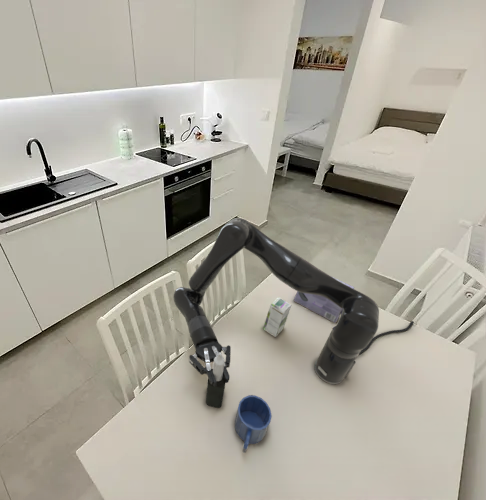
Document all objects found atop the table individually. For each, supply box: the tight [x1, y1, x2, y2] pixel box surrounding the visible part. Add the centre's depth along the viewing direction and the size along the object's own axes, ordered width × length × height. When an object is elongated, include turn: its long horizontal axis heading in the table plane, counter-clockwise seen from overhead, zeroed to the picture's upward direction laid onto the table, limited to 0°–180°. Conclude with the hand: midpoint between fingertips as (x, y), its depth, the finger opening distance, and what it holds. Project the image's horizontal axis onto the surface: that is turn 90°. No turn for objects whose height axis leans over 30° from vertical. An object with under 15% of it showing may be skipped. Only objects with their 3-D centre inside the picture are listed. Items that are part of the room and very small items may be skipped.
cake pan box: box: [293, 275, 355, 324], centre depth 115 cm, size 19×5×18 cm, turn 49°
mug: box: [234, 394, 273, 454], centre depth 80 cm, size 12×9×10 cm
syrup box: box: [263, 297, 292, 338], centre depth 107 cm, size 6×6×14 cm
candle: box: [205, 351, 226, 409], centre depth 82 cm, size 5×5×25 cm
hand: (221, 382), depth 79 cm, fingers closed on candle, 3 cm apart
